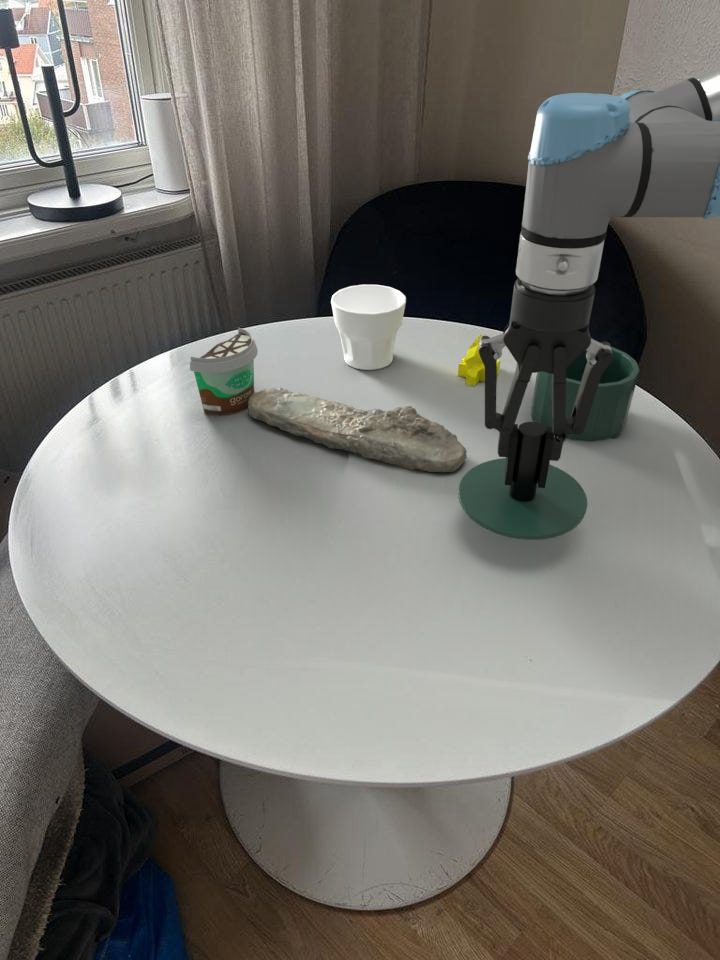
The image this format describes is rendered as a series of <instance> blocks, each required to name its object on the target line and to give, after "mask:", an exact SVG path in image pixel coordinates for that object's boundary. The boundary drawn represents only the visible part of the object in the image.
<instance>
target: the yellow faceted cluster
mask: <svg viewBox="0 0 720 960" xmlns="http://www.w3.org/2000/svg"><path fill="white" fill-rule="evenodd" d="M482 336H484V335H483V334H479V335H478V336H477V338H476V339H475V340H474V341H473V342H472V343H471V345H469V348H468V349H467V352H466V355H465V357H462V358H461V363H458V368H457V369H458V371H457V376H458V377H462V378H465V385H467V386H472V387H476V386H477V384H478V383H479V382H480V381H481V382H484V383H485V367H484V364H483V362H482V359H481V357H480V355H479V340H480V338H481V337H482ZM500 364H501V359H497V376H498V375H499V374H500V366H501V365H500Z"/></svg>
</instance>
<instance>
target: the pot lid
mask: <svg viewBox="0 0 720 960" xmlns="http://www.w3.org/2000/svg"><path fill="white" fill-rule="evenodd" d="M545 436H546V428H545V427H544V426H543V425H542V424H539V423H536V422H533V421H524V422H522V423H520V424H518V443H517V450H516V457H515V464H514V471H513V478H512V485H505V473H504V471H505V463H506V457H501V458H496V459H491V460H488V461H484V462H482V463H480V464H477V465H475V466H474V467H472V468H470V469H469V470H468V471H467V472H466V473H465V474H464V475H463V476H462V478H461V480H460V482H459V485H458V490H457V491H458V492H457V494H458V495H457V496H458V501H459V504H460V506H461V509H462V510H463V511H464V513H465V514H466V515H467V517H469V518H470V519H471V520H472V521H473V522H474V523H476V524H477V525H478V526H480V527H482V528H484V529H486V530H488V531H490V532H492V533H494V534H497V535H500V536H504V537H506V538H507V537H508V538H512V539H517V540H525V541H527V540H529V541H537V540H539V541H540V540H547V539H552V538H556V537H561V536H562V535H565V534H567V533H569V532H571V531H573V530H574V529H575V528H577V527H578V526H579V525H580V524H581V523H582V521H583V520H584V518H585V516H586V513H587V509H588V498H587V495H586V492H585V490H584V489H583V486H581V484H580V483H579V482H578V481H577V479H575V478H574V477H573V476H572V475H570V474H569V473H567V472H566V471H565V470H562V469H560V468H558V467H557V466H554V465H552V464H550V463H549V468H548V474H547V479H546V485H545V488H538V477H539V471H540V465H541V459H542V453H543V447H544V442H545Z"/></svg>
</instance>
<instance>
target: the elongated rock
mask: <svg viewBox="0 0 720 960" xmlns="http://www.w3.org/2000/svg"><path fill="white" fill-rule="evenodd" d="M247 409H248V414H249V416H250V417H251V418H253V420H258V421H261V422H264V423H266V424H267V425H269V426H271V427H277V428H279V430H282V431H285V432H287V433H290V434H292V435H294V436H295V437H303V438H307V439H308V440H310V441H314V443H316V444H322V445H324V446H326V447H327V448H328V449H331V450H332V449H333V450H334V449H337V450H343V451H346V452H350V453H353V454H354V455H357V454H358V455H361V457H362V458H365V459H371V460H375V461H379V462H383V463H387V464H390V465H394V466H398V467H402V468H405V469H407V470H412V471H415V470H420V471H425V472H429V473H454V472H455V471H457V470H458V469H459V468H460V467H461V466H462V465H463V464H464V462H466V459H467V453H468V451H467V448H466V447H465V446H464V445H463V444H462V443H461V442H460V441H459V440H458V437H457V435H456V434H455V433H452V432H451V431H449V430H448V429H446V428H445V426H444V425H442V424H440V423H438V422H436V421H431V420H430V419H428V418H427V417H424V416H422V415H421V414H419V413H418V411H417V410H416V408H415V407H413V406H412V405H405V406H400V407H396V408H394V409H393V410H383V409H380V408H374V409H369V410H363V409H360V408H359V409H358V408H355V407H354V406H352V405H351V406H349V405H347V404H345V403H344V404H343V403H341V402H338V401H337V402H336V401H332V400H328V399H323V398H320V397H316V396H310V395H309V394H303V393H300V392H293V391H289V390H288V389H284V388H283V387H279V388H264V389H262V390H259V391H257V392H254V393H253V395H252V396H251V398H250V399H249V401H248V408H247Z"/></svg>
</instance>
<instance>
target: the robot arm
mask: <svg viewBox="0 0 720 960" xmlns="http://www.w3.org/2000/svg"><path fill="white" fill-rule="evenodd" d="M530 145H531V146H530V149H529V152H528V155H527V160H528V166H527V174H526V175H527V176H526V184H525V185H526V186H525V194H524V202H523V213H522V221H521V228H520V229H521V230H520V234H519V242H518V249H517V259H516V267H515V275H516V276H517V279H516V280H515V282H514V284H513V290H512V291H513V292H512V300H511V307H510V308H511V309H510V316H509V320H508V323H507V325H505V327H504V329H503V332H502V333H500V334H497V335H495V336H492V337H490V336H489V335H483V336H482V337H481V338H480V340H479V355H480V357H481V359H482V362H483V364H484V367H485V382H484V427H485V428H486V429H487V430H493V429H494V430H495V431H497V432H498V433H499V434H498V442H497V454H498V457H499V458H506V463H505V471H504V473H505V485H512V478H513V471H514V464H515V457H516V450H517V443H518V427H519V424H518V423H516V422H517V419H518V415H519V413H520V409H521V406H522V403H523V401H524V397H525V394H526V391H527V388H528V384H529V383H530V381H531V379H532V375H533V373H534V374H535V373H536V374H537V372H541V371H543V372H546V373H550V374H552V424H553V426H552V427H551V426H545V428H546V436H545V442H544V447H543V453H542V459H541V465H540V471H539V477H538V488H545V485H546V479H547V474H548V468H549V464H550V462H551V461H552V462H558V461H559V460H560V459H561V455H562V450H563V445H564V442H565V441H566V440H567V438H566V436H567V435H569V434H575V435H580V434H582V433H583V431H584V429H585V425H586V422H587V419H588V416H589V413H590V410H591V407H592V403H593V400H594V397H595V394H596V391H597V388H598V385H599V382H600V378H601V375H602V373H603V372H604V371H605V369H606V368H607V367H608V366H609V364H610V363H611V362H612V360H613V353H612V350H611V347H612V346H611V343H609V342H608V341H602V342H599V341H598V340H595V339H594V338H592V336H591V332H590V330H589V325H590V319H591V314H592V310H593V304H594V299H595V295H596V294H595V293H596V287H595V285H594V284H595V283H596V282H597V280H598V278H599V272H600V269H601V261H602V256H603V251H604V245H605V240H606V238H607V233H608V225H609V223H610V221H611V219H612V218H702V219H703V220H708V219H709V218H719V217H720V65H719V66H717V67H714V68H712V69H709V70H707V71H705V72H702V73H700V74H697V75H694V76H692V77H690V78H687V79H684V80H681V81H678V82H676V83H673V84H671V85H669V86H666V87H664V88H661V89H658V90H650V89H637V90H631V91H626V92H625V93H623V94H620V96H619V95H616V94H615V95H614V94H608V93H590V92H569V93H561V94H556V95H553V96H550V97H549V98H546V100H543V102H542V103H541V104H540V106H539V108H537V113H536V117H535V123H534V128H533V133H532V138H531V144H530ZM505 347H506V349H508V351H509V353H510V354H511V356H512V357H513V359H514V361H515V362H516V367H515V371H514V374H513V378H512V381H511V384H510V387H509V391H508V394H507V397H506V400H505V403H504V407H503V410H502V413H499V412H497V389H498V388H497V386H498V385H497V383H498V379H497V378H498V375H497V360H500V358H501V357H502V355H503V349H504V348H505ZM585 350H586V351H587V353H586V359H587V364H586V367H585V370H584V374H583V377H582V380H581V384H580V387H579V390H578V394H577V397H576V400H575V404H574V407H573V410H572V414H571V417H569V418H566V368H567V367H568V366H569V365H570V364H572V363H573V362H574V361H575V360H576V359H577V358H578V357H579V356H580V355H581V354H582V353H583V352H584V351H585Z"/></svg>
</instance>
